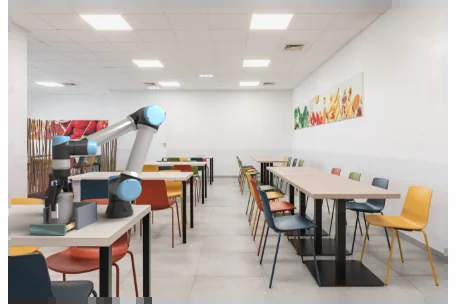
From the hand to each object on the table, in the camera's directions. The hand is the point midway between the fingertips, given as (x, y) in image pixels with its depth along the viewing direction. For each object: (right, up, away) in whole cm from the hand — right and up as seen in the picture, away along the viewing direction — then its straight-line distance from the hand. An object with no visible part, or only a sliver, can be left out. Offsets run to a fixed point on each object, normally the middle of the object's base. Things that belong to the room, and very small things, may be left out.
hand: (61, 215), depth 141 cm
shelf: (0, -6, -1) cm, 6 cm away
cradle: (+1, -6, +8) cm, 10 cm away
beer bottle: (-23, -7, +31) cm, 40 cm away
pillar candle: (-1, -3, 0) cm, 3 cm away
